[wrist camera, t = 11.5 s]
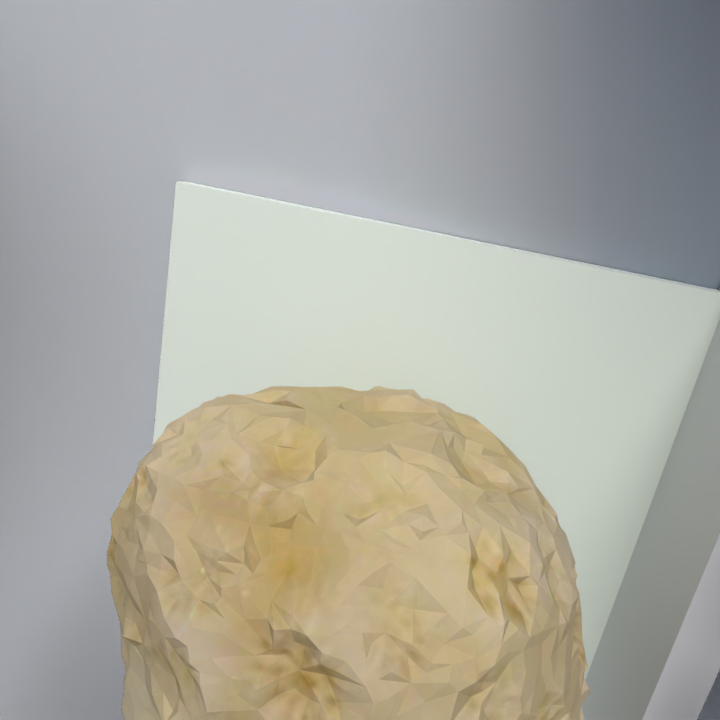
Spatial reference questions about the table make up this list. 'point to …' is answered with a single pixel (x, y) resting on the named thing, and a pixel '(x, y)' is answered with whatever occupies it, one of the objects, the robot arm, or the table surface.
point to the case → (670, 582)
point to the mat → (446, 348)
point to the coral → (342, 567)
